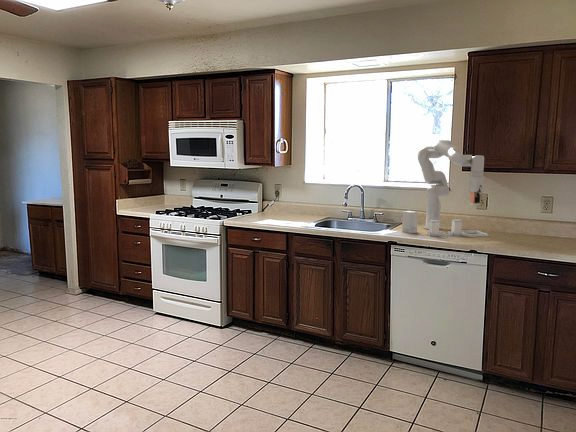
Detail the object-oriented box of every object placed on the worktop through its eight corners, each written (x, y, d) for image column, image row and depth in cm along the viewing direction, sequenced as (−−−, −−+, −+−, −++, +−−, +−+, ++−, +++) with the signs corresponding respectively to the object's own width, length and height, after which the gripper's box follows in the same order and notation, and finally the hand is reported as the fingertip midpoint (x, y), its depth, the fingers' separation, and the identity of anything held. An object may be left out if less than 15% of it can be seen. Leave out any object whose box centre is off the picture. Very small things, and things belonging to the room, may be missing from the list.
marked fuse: (469, 204, 306) (470, 189, 305) (476, 204, 307) (477, 189, 306) (473, 205, 303) (474, 190, 301) (480, 205, 303) (481, 190, 302)
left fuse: (428, 235, 305) (429, 220, 303) (435, 234, 306) (436, 219, 304) (431, 236, 301) (432, 221, 299) (438, 236, 302) (439, 220, 300)
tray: (457, 235, 314) (458, 230, 313) (476, 234, 316) (476, 230, 315) (468, 239, 300) (469, 234, 300) (488, 238, 303) (488, 234, 302)
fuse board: (424, 236, 308) (424, 230, 307) (457, 235, 312) (458, 229, 311) (431, 239, 298) (431, 233, 297) (465, 238, 302) (466, 232, 301)
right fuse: (451, 234, 307) (452, 219, 306) (458, 234, 308) (459, 219, 307) (454, 235, 303) (455, 220, 302) (461, 235, 304) (462, 220, 303)
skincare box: (417, 234, 314) (418, 211, 312) (410, 235, 311) (411, 212, 309) (408, 232, 322) (409, 210, 319) (401, 233, 318) (402, 210, 316)
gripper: (464, 173, 309) (462, 201, 312) (478, 175, 293) (476, 204, 296) (475, 173, 311) (473, 200, 313) (489, 175, 294) (487, 204, 297)
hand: (475, 202), depth 305 cm, fingers closed on marked fuse, 4 cm apart
